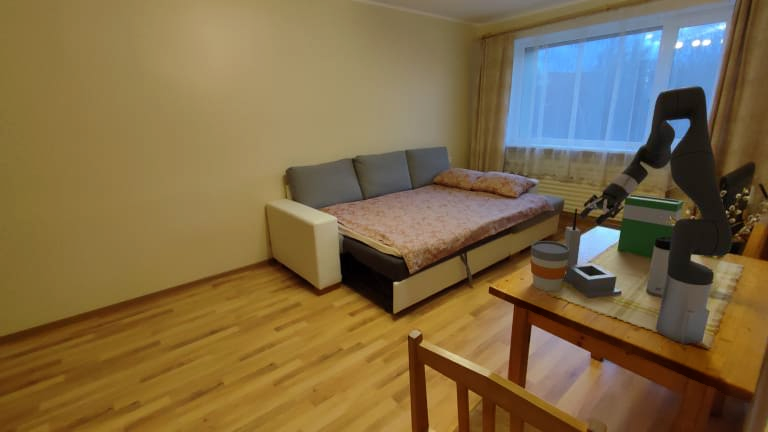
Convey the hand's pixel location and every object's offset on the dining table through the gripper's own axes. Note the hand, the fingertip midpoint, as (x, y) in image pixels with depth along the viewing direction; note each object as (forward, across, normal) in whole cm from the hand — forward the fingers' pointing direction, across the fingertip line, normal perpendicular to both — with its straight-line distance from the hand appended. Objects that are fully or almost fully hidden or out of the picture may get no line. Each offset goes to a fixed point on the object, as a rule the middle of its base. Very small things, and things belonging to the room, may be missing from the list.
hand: (588, 220), depth 135 cm
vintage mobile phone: (+18, 0, +10) cm, 21 cm away
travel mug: (+7, +24, +21) cm, 33 cm away
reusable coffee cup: (+30, +11, -2) cm, 32 cm away
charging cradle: (+20, +14, +8) cm, 25 cm away
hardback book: (-9, -6, +37) cm, 39 cm away
